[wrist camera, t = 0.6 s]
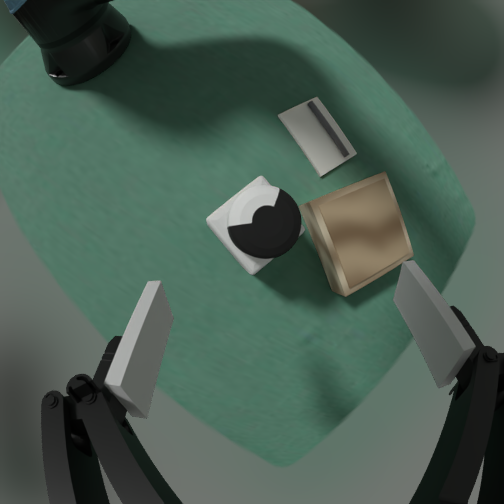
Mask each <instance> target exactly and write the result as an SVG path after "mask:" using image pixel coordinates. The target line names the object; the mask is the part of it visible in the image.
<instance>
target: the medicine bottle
mask: <svg viewBox="0 0 504 504" xmlns="http://www.w3.org/2000/svg"><path fill="white" fill-rule="evenodd" d="M206 221H207V225H208V226H209V228H210V229H211V230H212V231H213V233H214V234H215V235H216V236H217V237H218V239H219V240H220V241H221V242H222V243H223V245H224V246H225V247H226V248H227V249H228V251H229V252H230V253H231V254H232V255H233V257H234V258H235V259H236V260H237V261H238V263H239V264H240V265H241V266H242V267H243V268H244V269H245V270H246V271H247V272H248V273H249V274H251V275H254V274H256V273H257V272H258V271H259V270H260V269H262V268H263V267H264V266H265V265H266V264H267V263H269V262H270V261H271V260H272V259H273V258H276V257H279V256H281V255H283V254H284V253H286V252H287V251H289V250H290V249H291V248H292V247H293V245H294V244H295V243H296V241H297V239H298V237H299V236H300V235H301V234H302V233H303V232H304V231H305V228H304V227H303V225H302V224H301V215H300V211H299V208H298V206H297V204H296V202H295V201H294V200H293V198H292V197H291V196H290V195H289V194H288V193H286V192H285V191H283V190H282V189H280V188H277V187H274V186H271V185H270V184H269V183H268V181H267V180H266V179H265V178H264V177H263V176H259V177H257V178H256V179H255V180H254V181H252V182H251V183H250V184H248V185H247V186H246V187H245V188H243V189H242V190H241V191H240V192H238V193H237V194H236V195H234V196H233V197H232V198H231V199H229V200H228V201H227V202H226V203H224V204H223V205H222V206H221V207H220V208H218V209H217V210H216V211H215V212H213V213H212V214H211V215H210V216H208V217H207V219H206Z"/></svg>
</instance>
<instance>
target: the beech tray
mask: <svg viewBox="0 0 504 504" xmlns="http://www.w3.org/2000/svg"><path fill="white" fill-rule="evenodd" d="M299 208H300V211H301V213H302V216H303V218H304V220H305V223H306V225H307V228H308V230H309V233H310V235H311V238H312V240H313V243H314V245H315V248H316V250H317V253H318V255H319V258H320V260H321V263H322V266H323V268H324V271H325V274H326V276H327V279H328V282H329V284H330V287H331V290H332V291H333V292H335V293H338V294H340V295H343V296H345V297H346V296H348V295H350V294H351V293H353V292H355V291H357V290H358V289H360V288H362V287H364V286H365V285H367V284H369V283H370V282H372V281H374V280H376V279H377V278H379V277H381V276H382V275H384V274H385V273H387V272H389V271H390V270H392V269H394V268H395V267H397V266H398V265H400V264H401V263H403V262H404V261H406V260H408V259H409V258H411V257H412V256H414V254H413V251H412V247H411V243H410V240H409V237H408V233H407V230H406V227H405V224H404V221H403V218H402V215H401V212H400V209H399V206H398V203H397V200H396V198H395V195H394V192H393V190H392V187H391V184H390V182H389V179H388V177H387V174H386V172H382V173H379V174H377V175H374V176H371V177H369V178H366V179H364V180H361V181H359V182H356V183H354V184H351V185H349V186H346V187H344V188H341V189H339V190H336V191H334V192H331V193H329V194H327V195H324V196H322V197H319V198H317V199H314V200H312V201H310V202H307V203H305V204H302V205H300V206H299Z"/></svg>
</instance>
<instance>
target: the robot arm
mask: <svg viewBox="0 0 504 504" xmlns="http://www.w3.org/2000/svg"><path fill="white" fill-rule="evenodd" d="M4 1H5V3H6V5H7V7H8V9H9V10H10V13H11V14H13V15H14V16H15V18H16V19H17V20H18V21H19V22H20V24H21V25H22V26H23V27H24V29H25V30H26V31H27V32H28V33H29V35H30V36H31V37H32V38H33V40H34V41H35V42H36V43H37V44H38V45H39V47H40V48H41V53H42V57H43V61H44V66H45V70H46V72H47V74H48V75H49V76H50V77H51V79H52V80H53V81H54V82H56V83H57V84H60V85H75V84H79V83H82V82H84V81H87V80H89V79H91V78H93V77H95V76H97V75H98V74H100V73H101V72H103V71H104V70H106V69H107V68H108V67H110V66H111V65H112V64H113V63H114V62H115V61H116V60H117V59H118V58H119V57H120V56H121V55H122V53H123V52H124V51H125V49H126V48H127V46H128V44H129V41H130V38H131V30H130V27H129V24H128V22H127V20H126V18H125V17H124V16H123V15H122V14H121V13H120V12H118V11H117V10H116V9H115V8H114V7H113V6H112V5H111V4H109V2H110V1H113V0H4ZM393 301H394V303H395V304H396V306H397V308H398V310H399V311H400V313H401V315H402V317H403V319H404V320H405V322H406V324H407V326H408V328H409V330H410V331H411V333H412V335H413V337H414V339H415V341H416V343H417V345H418V347H419V348H420V351H421V353H422V355H423V357H424V359H425V361H426V363H427V365H428V367H429V369H430V371H431V373H432V375H433V378H434V380H435V382H436V384H437V387H438V388H441V387H443V386H446V385H449V384H451V382H452V381H453V379H454V378H455V377H456V378H457V380H458V382H457V383H456V384H455V386H454V387H453V388H452V390H451V391H450V393H449V395H451V394H452V392H453V391H454V393H453V397H452V401H451V404H450V408H449V411H448V414H447V417H446V421H445V424H444V427H443V430H442V432H441V435H440V438H439V441H438V443H437V446H436V448H435V451H434V453H433V456H432V458H431V461H430V463H429V465H428V467H427V470H426V472H425V474H424V476H423V478H422V480H421V482H420V484H419V486H418V488H417V490H416V492H415V494H414V496H413V497H412V499H411V501H410V503H409V504H468V499H469V497H470V495H471V492H472V490H473V487H474V485H475V482H476V479H477V476H478V473H479V470H480V467H481V464H482V461H483V457H484V465H483V473H482V480H481V486H480V491H479V497H478V501H477V504H504V353H497V351H496V350H495V349H493V348H492V347H490V346H484V345H483V344H482V342H481V341H480V339H479V338H478V336H477V335H476V333H475V331H474V330H473V329H472V327H471V326H470V324H469V323H468V321H467V320H466V318H465V317H464V316H463V314H462V313H461V311H459V310H458V309H457V308H456V307H454V306H450V307H449V306H448V304H447V303H446V301H445V300H444V298H443V297H442V296H441V294H440V293H439V292H438V290H437V289H436V288H435V286H434V285H433V284H432V283H431V281H430V280H429V279H428V277H427V276H426V275H425V274H424V272H423V271H422V270H421V269H420V267H419V266H418V265H417V264H416V263H415V261H414V260H413V261H404V262H403V263H402V267H401V271H400V275H399V280H398V283H397V287H396V291H395V295H394V298H393ZM173 320H174V318H173V315H172V312H171V309H170V306H169V303H168V301H167V298H166V295H165V292H164V289H163V286H162V283H161V281H148V283H147V285H146V287H145V289H144V291H143V293H142V295H141V297H140V299H139V301H138V304H137V306H136V308H135V310H134V312H133V314H132V317H131V319H130V321H129V323H128V325H127V328H126V330H125V332H124V335H123V336H115V337H114V338H113V339H112V340H111V341H110V342H109V343H108V345H107V347H106V350H105V354H103V356H102V360H101V361H100V364H99V366H98V368H97V371H96V373H95V375H94V378H93V380H92V379H91V378H90V377H89V376H88V375H86V374H78V375H75V376H74V377H73V378H71V379H70V381H69V382H68V384H67V387H66V391H67V394H68V395H69V396H66V397H64V396H63V395H62V394H61V393H60V392H58V391H50V392H48V393H47V394H46V395H45V396H44V398H43V399H42V405H41V428H42V450H43V461H44V469H45V470H44V471H45V478H46V485H47V490H48V496H49V501H50V504H110V503H109V500H108V496H107V493H106V490H105V486H104V482H103V478H102V474H101V470H100V465H99V461H98V458H99V460H100V463H101V465H102V467H103V469H104V471H105V473H106V475H107V477H108V478H109V480H110V482H111V484H112V486H113V488H114V490H115V491H116V493H117V495H118V497H119V498H120V500H121V502H122V503H123V504H182V502H181V501H180V499H179V498H178V497H177V496H176V494H175V493H174V492H173V490H172V489H171V488H170V486H169V485H168V484H167V482H166V481H165V480H164V478H163V477H162V475H161V474H160V472H159V471H158V470H157V468H156V467H155V465H154V464H153V462H152V460H151V459H150V457H149V456H148V454H147V453H146V451H145V449H144V448H143V446H142V445H141V443H140V441H139V440H138V438H137V436H136V434H135V433H134V431H133V429H132V427H131V425H130V424H129V422H128V420H127V419H126V418H125V416H126V412H127V411H128V412H129V413H130V415H131V416H133V417H139V418H146V419H147V417H148V413H149V409H150V405H151V401H152V397H153V392H154V388H155V385H156V381H157V377H158V373H159V369H160V365H161V362H162V358H163V354H164V351H165V347H166V344H167V340H168V337H169V333H170V330H171V326H172V323H173ZM484 454H485V455H484Z"/></svg>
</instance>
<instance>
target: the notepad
mask: <svg viewBox="0 0 504 504" xmlns="http://www.w3.org/2000/svg"><path fill="white" fill-rule="evenodd" d="M278 117H279V119H280V120H281V121H282V123H283V124H284V126H285V127H286V128H287V130H288V131H289V132H290V134H291V135H292V137H293V138H294V139H295V141H296V142H297V144H298V145H299V147H300V148H301V150H302V151H303V152H304V154H305V155H306V157H307V158H308V160H309V161H310V163H311V164H312V166H313V167H314V169H315V170H316V172H317V174H318V175H319V177H321V176H322V175H324V174H326V173H327V172H329V171H330V170H332V169H334V168H335V167H337V166H338V165H340V164H342V163H343V162H345V161H346V160H348V159H350V158H351V157H353V156H355V155H356V154H357V153H356V151H355V150H354V148H353V147H352V145H351V144H350V142H349V141H348V139H347V138H346V136H345V135H344V133H343V132H342V130H341V129H340V127H339V126H338V124H337V123H336V122H335V120H334V119H333V117H332V116H331V115H330V113H329V112H328V110H327V109H326V108H325V106H324V105H323V104H322V102H321V101H320V100H319V99H318V97H315V98H313V99H311V100H308V101H306V102H304V103H302V104H299V105H297V106H295V107H293V108H291V109H289V110H287V111H285V112H283V113H281V114H279V115H278Z"/></svg>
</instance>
